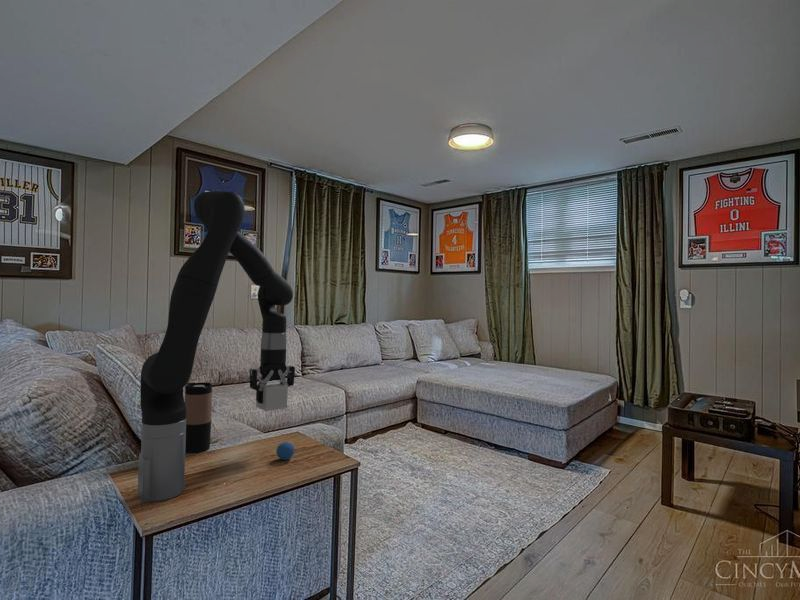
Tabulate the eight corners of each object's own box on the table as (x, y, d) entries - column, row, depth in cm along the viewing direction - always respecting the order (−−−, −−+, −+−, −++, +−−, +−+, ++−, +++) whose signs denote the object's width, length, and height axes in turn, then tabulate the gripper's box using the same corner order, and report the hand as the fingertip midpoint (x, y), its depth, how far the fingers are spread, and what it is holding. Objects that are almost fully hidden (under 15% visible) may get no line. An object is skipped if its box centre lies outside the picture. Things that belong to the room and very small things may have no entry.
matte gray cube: (265, 411, 124) (266, 388, 124) (256, 406, 129) (256, 384, 129) (287, 408, 129) (287, 385, 129) (276, 403, 134) (277, 382, 134)
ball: (280, 444, 120) (272, 444, 124) (282, 462, 119) (274, 462, 123) (295, 439, 123) (287, 440, 127) (298, 457, 123) (290, 457, 126)
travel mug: (185, 446, 132) (187, 382, 133) (212, 444, 135) (213, 382, 135) (180, 454, 125) (182, 387, 125) (208, 452, 127) (210, 386, 128)
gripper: (256, 349, 122) (254, 407, 121) (300, 347, 131) (299, 400, 131) (245, 347, 127) (243, 402, 127) (289, 345, 137) (287, 396, 137)
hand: (271, 401), depth 129 cm, fingers closed on matte gray cube, 7 cm apart
